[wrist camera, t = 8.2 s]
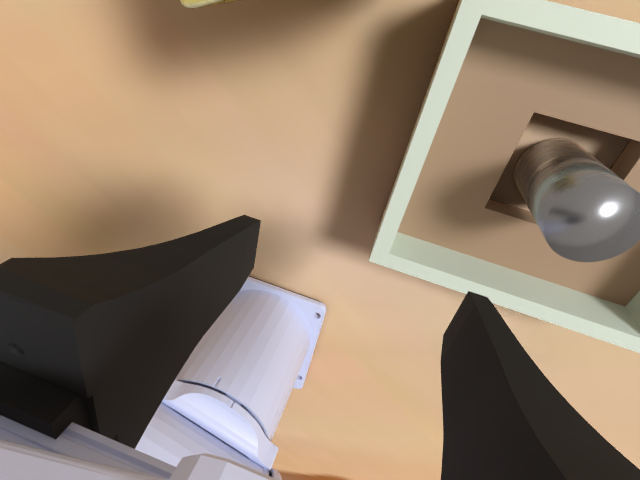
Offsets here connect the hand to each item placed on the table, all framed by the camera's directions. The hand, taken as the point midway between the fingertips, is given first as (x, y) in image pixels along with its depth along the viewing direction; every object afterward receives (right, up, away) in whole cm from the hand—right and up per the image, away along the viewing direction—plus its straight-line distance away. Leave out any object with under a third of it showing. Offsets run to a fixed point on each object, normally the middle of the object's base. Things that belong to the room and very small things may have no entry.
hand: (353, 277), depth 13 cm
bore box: (+10, +5, +6) cm, 13 cm away
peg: (+10, +5, +6) cm, 13 cm away
